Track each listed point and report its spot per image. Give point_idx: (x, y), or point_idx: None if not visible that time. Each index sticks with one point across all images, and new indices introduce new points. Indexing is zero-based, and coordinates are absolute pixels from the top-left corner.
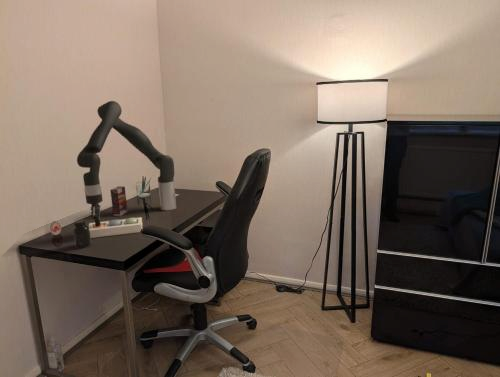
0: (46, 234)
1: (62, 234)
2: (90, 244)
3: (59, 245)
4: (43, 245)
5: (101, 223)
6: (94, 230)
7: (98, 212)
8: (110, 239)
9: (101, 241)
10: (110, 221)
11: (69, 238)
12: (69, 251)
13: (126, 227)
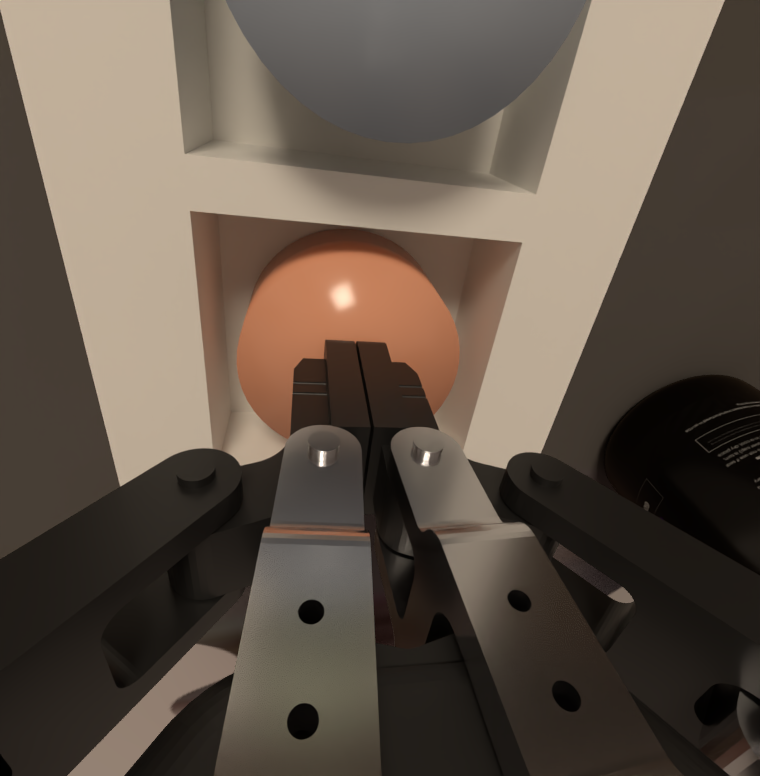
0: (179, 708)
1: (223, 630)
2: (740, 380)
3: None
4: None
5: (202, 323)
6: (553, 404)
7: (571, 634)
8: (747, 126)
9: (713, 262)
10: (378, 85)
11: (375, 567)
12: None
13: None
